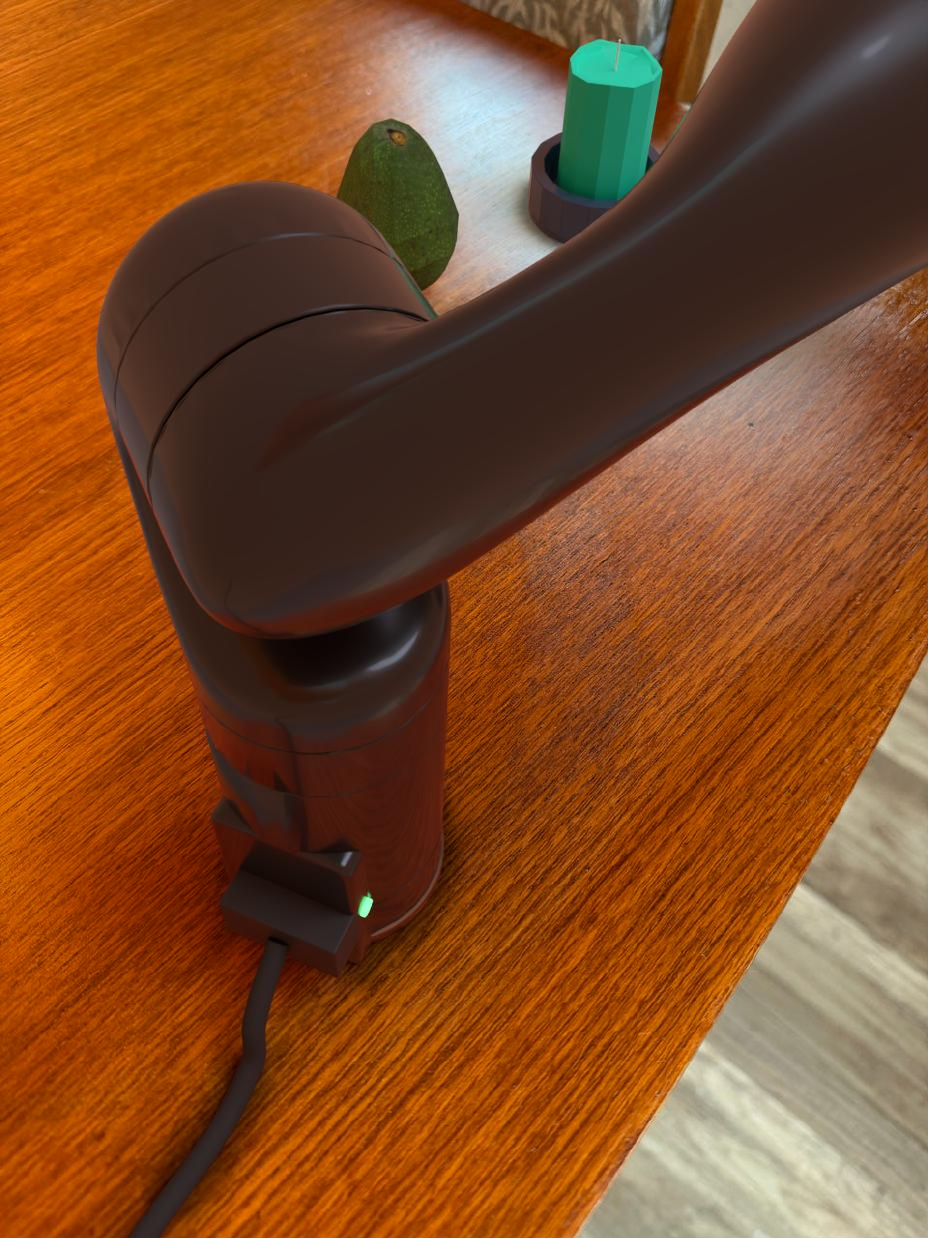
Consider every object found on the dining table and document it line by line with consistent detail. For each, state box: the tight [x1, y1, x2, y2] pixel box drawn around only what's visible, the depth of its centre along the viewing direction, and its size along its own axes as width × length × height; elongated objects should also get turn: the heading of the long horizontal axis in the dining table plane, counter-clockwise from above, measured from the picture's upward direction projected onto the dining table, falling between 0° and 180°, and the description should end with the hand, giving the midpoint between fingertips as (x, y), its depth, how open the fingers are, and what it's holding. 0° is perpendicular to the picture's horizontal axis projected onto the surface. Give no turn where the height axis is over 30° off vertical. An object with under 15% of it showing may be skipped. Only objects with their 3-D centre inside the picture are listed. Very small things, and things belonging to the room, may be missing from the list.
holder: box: [527, 131, 661, 245], centre depth 85 cm, size 9×9×4 cm
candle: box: [556, 38, 664, 200], centre depth 81 cm, size 6×6×12 cm
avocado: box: [335, 117, 460, 292], centre depth 75 cm, size 8×8×12 cm
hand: (794, 23), depth 69 cm, fingers open, 8 cm apart
